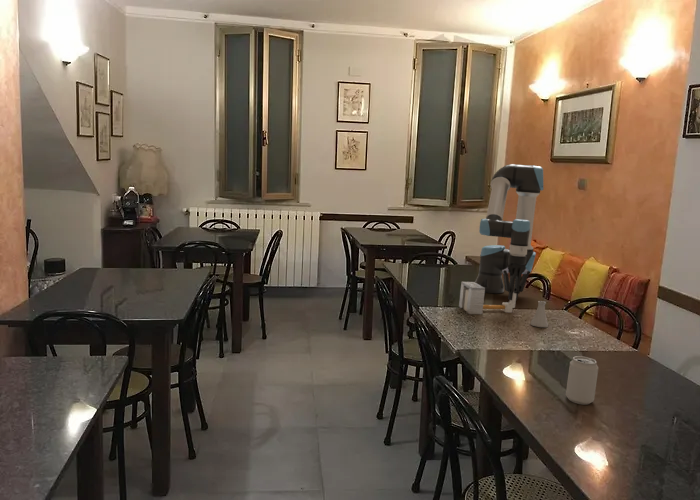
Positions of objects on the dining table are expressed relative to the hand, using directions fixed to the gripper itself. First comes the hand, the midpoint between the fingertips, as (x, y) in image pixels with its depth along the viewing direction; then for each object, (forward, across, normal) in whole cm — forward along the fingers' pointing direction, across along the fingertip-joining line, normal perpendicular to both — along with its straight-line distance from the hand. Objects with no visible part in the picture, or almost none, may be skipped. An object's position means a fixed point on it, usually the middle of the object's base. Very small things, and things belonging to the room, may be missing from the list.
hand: (511, 307), depth 267 cm
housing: (+2, -19, 0) cm, 19 cm away
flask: (+2, +1, -22) cm, 22 cm away
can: (+2, -27, -97) cm, 101 cm away
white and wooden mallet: (+2, -11, 0) cm, 11 cm away
